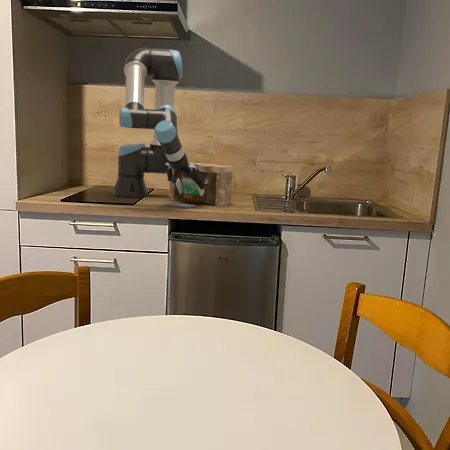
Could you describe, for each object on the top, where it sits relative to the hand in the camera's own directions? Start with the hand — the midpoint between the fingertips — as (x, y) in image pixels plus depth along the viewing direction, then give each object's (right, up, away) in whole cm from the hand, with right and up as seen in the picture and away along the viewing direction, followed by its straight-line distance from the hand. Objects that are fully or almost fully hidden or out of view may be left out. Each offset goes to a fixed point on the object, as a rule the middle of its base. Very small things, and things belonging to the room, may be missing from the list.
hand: (192, 192), depth 224 cm
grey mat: (-4, -6, -6) cm, 9 cm away
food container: (0, -4, +1) cm, 4 cm away
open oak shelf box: (+3, -4, +9) cm, 10 cm away
